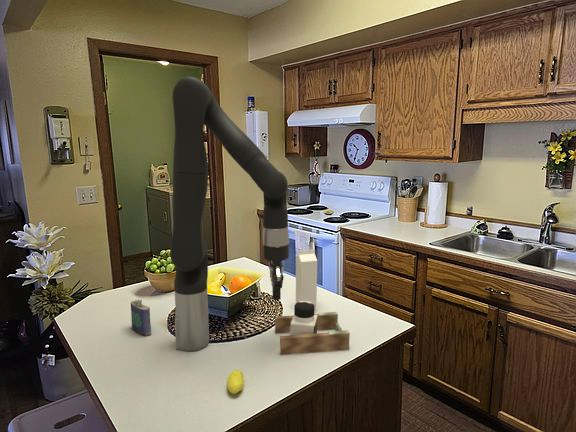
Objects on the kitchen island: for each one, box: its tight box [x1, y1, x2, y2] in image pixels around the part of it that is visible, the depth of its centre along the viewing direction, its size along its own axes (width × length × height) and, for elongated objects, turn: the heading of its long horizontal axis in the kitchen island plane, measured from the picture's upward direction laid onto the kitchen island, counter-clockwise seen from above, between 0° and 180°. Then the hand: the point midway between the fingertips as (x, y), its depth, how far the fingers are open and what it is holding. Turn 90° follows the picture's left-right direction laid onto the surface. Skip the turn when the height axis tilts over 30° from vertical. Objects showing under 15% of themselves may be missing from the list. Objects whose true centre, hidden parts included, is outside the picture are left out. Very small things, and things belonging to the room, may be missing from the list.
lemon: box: [226, 369, 245, 395], centre depth 95 cm, size 4×8×4 cm, turn 178°
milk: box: [295, 248, 318, 312], centre depth 138 cm, size 6×6×22 cm
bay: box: [274, 311, 351, 356], centre depth 118 cm, size 20×14×5 cm
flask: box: [130, 298, 152, 337], centre depth 122 cm, size 9×3×11 cm, turn 50°
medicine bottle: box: [289, 301, 318, 335], centre depth 117 cm, size 7×7×12 cm
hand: (276, 299), depth 114 cm, fingers closed
